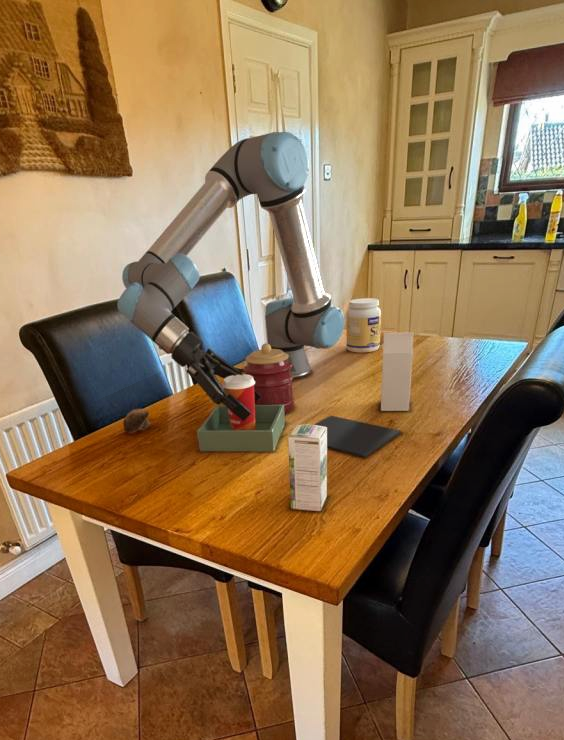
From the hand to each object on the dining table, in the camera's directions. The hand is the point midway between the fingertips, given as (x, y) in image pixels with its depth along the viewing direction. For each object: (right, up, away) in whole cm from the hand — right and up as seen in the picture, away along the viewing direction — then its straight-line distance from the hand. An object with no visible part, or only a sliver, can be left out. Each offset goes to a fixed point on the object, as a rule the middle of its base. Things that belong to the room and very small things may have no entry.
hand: (252, 408), depth 122 cm
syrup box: (+12, -23, -26) cm, 37 cm away
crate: (-2, -6, +4) cm, 8 cm away
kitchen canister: (+4, +4, +20) cm, 20 cm away
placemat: (+22, -7, 0) cm, 23 cm away
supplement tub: (+38, +35, +68) cm, 86 cm away
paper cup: (-2, -6, +4) cm, 8 cm away
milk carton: (+37, +3, +14) cm, 40 cm away
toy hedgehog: (-30, -4, +13) cm, 33 cm away
